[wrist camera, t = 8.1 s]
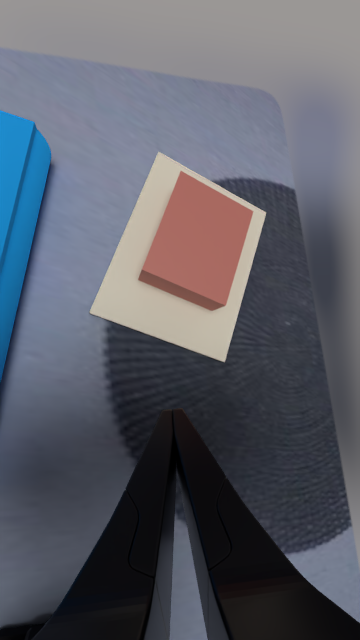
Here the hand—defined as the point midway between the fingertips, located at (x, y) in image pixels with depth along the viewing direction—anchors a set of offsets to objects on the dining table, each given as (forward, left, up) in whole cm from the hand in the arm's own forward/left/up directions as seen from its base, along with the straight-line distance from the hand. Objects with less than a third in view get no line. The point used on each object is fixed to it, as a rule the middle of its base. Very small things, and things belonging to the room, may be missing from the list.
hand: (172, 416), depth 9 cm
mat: (+12, -2, -9) cm, 15 cm away
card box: (+8, -1, -8) cm, 11 cm away
